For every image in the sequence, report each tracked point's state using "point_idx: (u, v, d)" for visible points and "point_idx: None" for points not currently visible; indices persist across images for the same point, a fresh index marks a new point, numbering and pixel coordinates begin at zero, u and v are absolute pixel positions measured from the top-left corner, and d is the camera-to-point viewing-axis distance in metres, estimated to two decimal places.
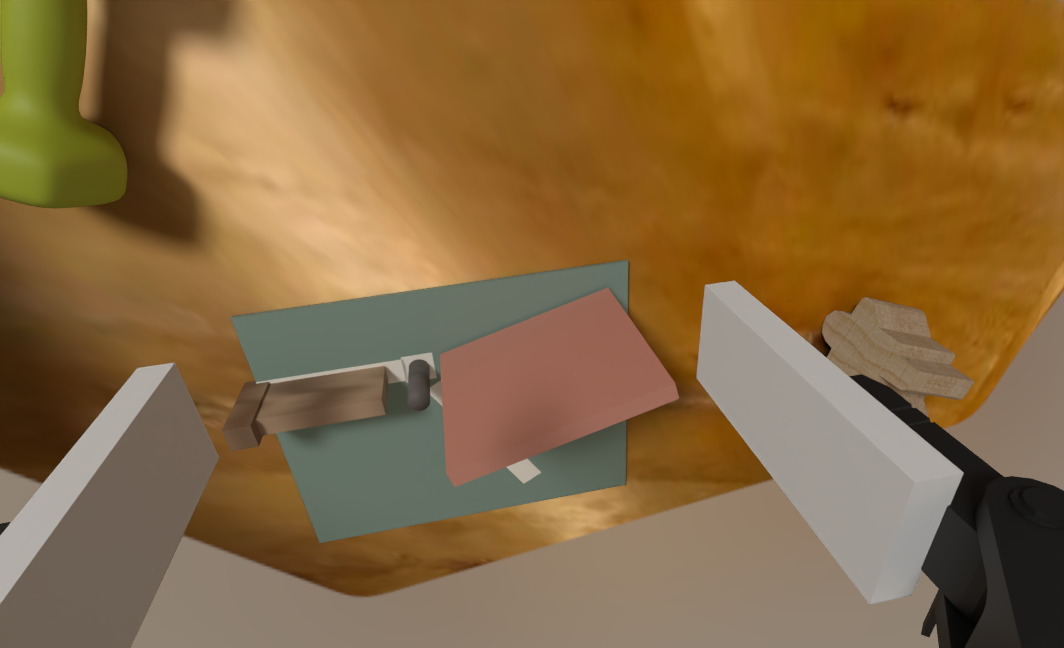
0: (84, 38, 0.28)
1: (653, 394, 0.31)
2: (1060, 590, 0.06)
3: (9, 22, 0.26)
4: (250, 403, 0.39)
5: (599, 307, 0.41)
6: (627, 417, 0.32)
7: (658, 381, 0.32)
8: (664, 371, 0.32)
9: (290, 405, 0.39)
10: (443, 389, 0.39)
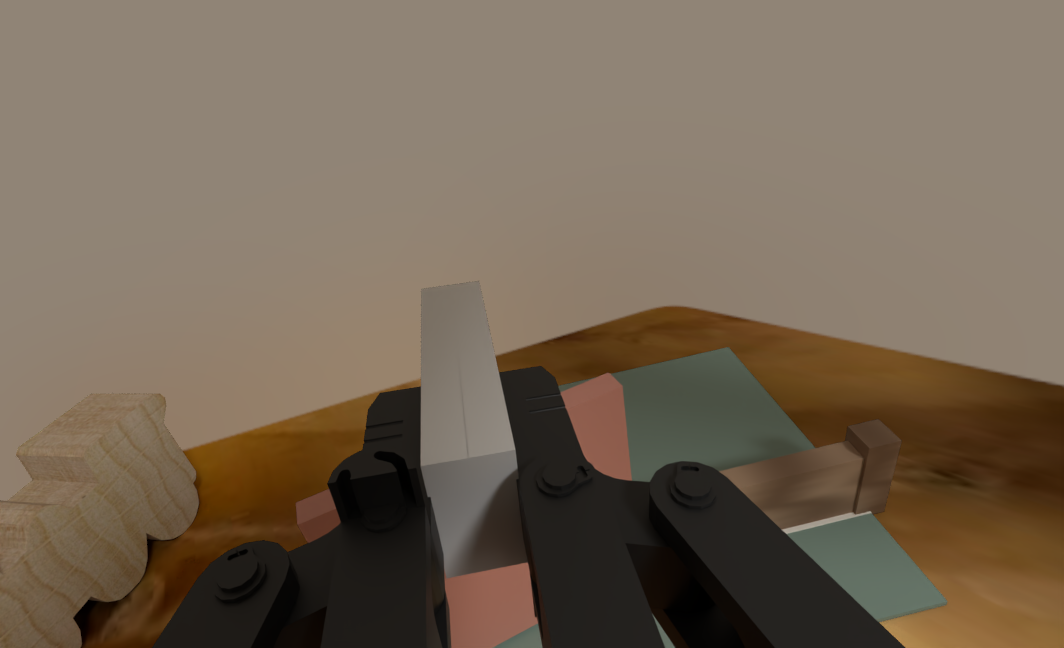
0: None
1: (334, 506, 0.21)
2: (573, 555, 0.07)
3: None
4: (873, 481, 0.31)
5: None
6: None
7: (324, 528, 0.21)
8: None
9: (823, 480, 0.30)
10: None
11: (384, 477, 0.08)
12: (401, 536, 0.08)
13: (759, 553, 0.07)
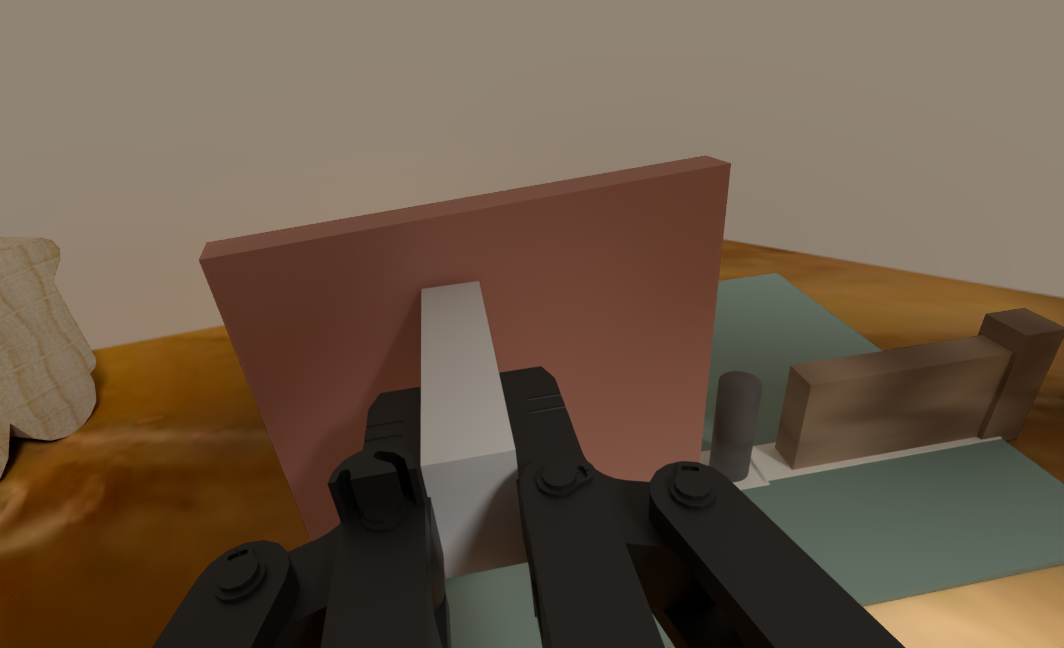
0: None
1: (265, 246, 0.13)
2: (573, 555, 0.07)
3: None
4: (1016, 389, 0.23)
5: None
6: (343, 220, 0.14)
7: (246, 281, 0.13)
8: (225, 310, 0.13)
9: (955, 381, 0.22)
10: (703, 393, 0.20)
11: (384, 477, 0.08)
12: (401, 536, 0.08)
13: (759, 553, 0.07)
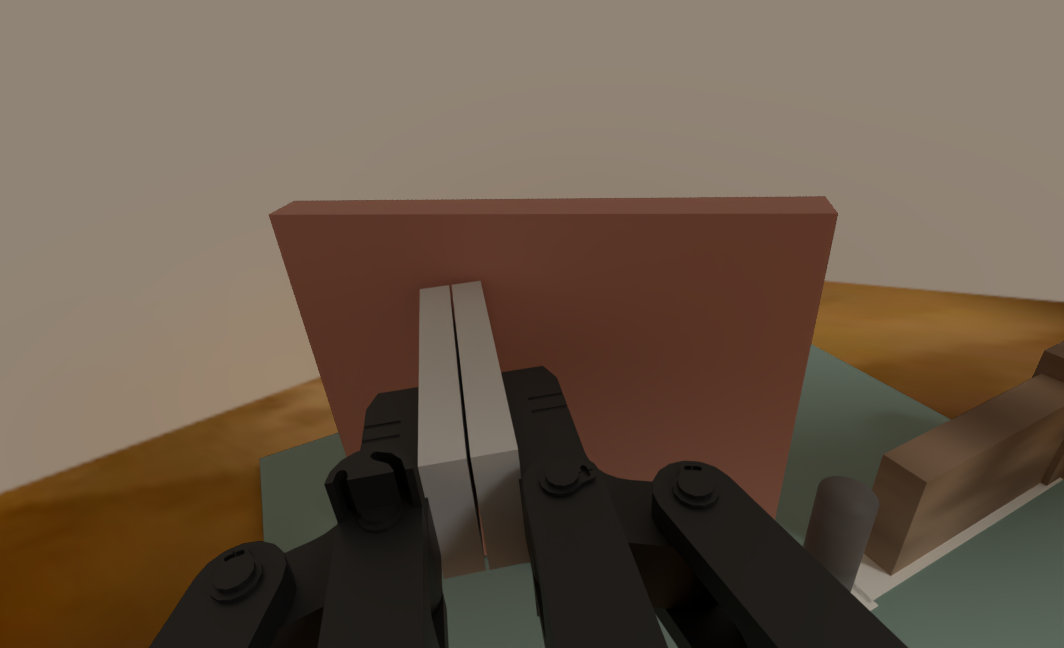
0: None
1: (317, 212, 0.15)
2: (575, 554, 0.07)
3: None
4: None
5: None
6: (394, 201, 0.15)
7: (300, 239, 0.15)
8: (286, 259, 0.16)
9: (1040, 436, 0.19)
10: (776, 489, 0.16)
11: (381, 477, 0.08)
12: (398, 536, 0.08)
13: (762, 552, 0.07)
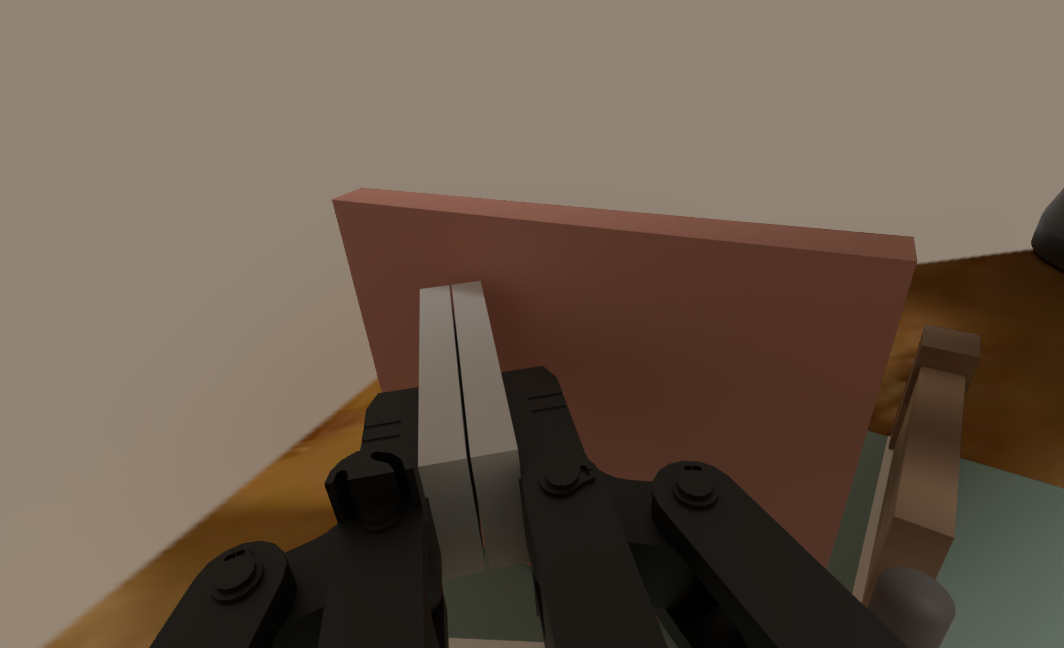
0: None
1: (371, 201, 0.15)
2: (575, 554, 0.07)
3: None
4: None
5: None
6: (445, 196, 0.15)
7: (357, 225, 0.16)
8: (346, 242, 0.16)
9: None
10: None
11: (381, 478, 0.08)
12: (398, 537, 0.08)
13: (761, 552, 0.07)
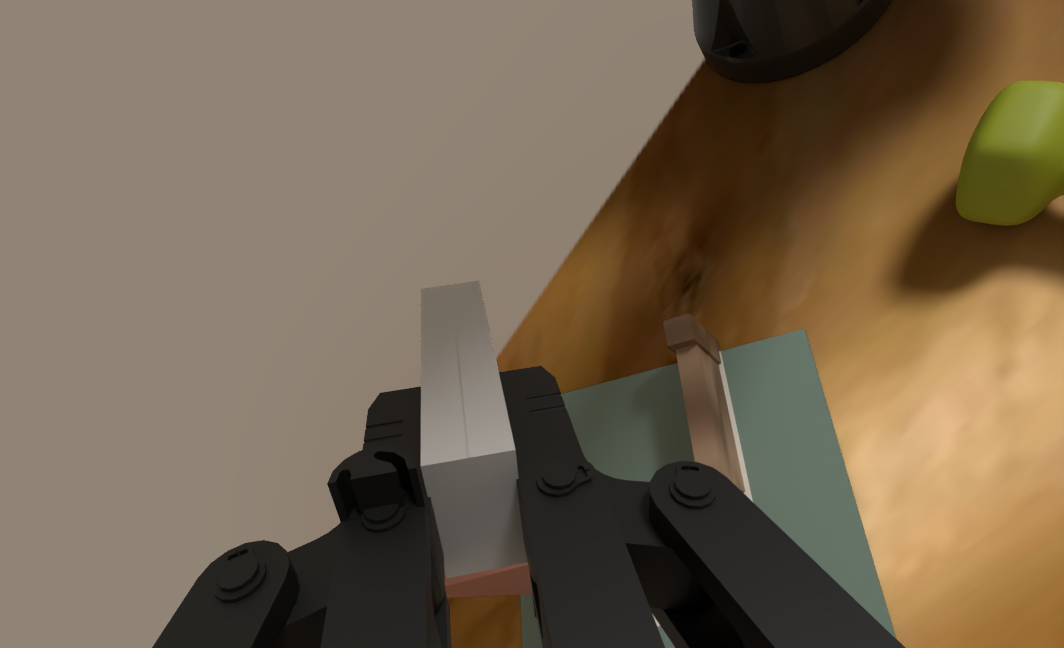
0: None
1: None
2: (573, 555, 0.07)
3: None
4: (707, 342, 0.37)
5: (527, 591, 0.38)
6: None
7: None
8: None
9: (708, 380, 0.35)
10: None
11: (384, 477, 0.08)
12: (401, 536, 0.08)
13: (759, 553, 0.07)
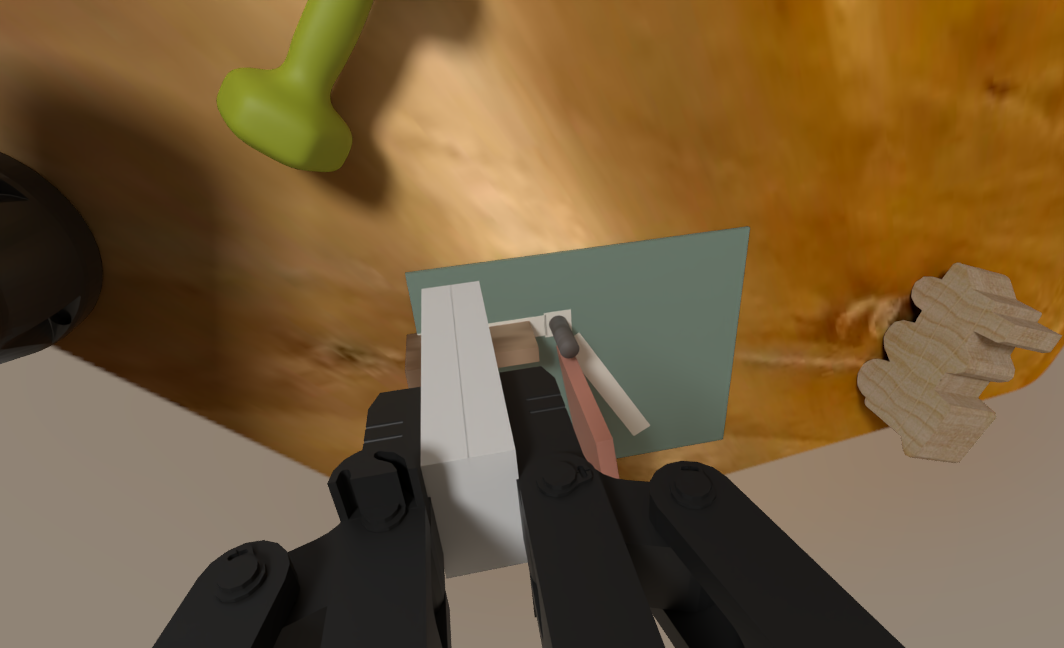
0: (358, 37, 0.33)
1: None
2: (573, 555, 0.07)
3: (316, 15, 0.31)
4: (420, 350, 0.44)
5: None
6: None
7: None
8: None
9: None
10: (582, 373, 0.45)
11: (384, 477, 0.08)
12: (401, 536, 0.08)
13: (759, 553, 0.07)
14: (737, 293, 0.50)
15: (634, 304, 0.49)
